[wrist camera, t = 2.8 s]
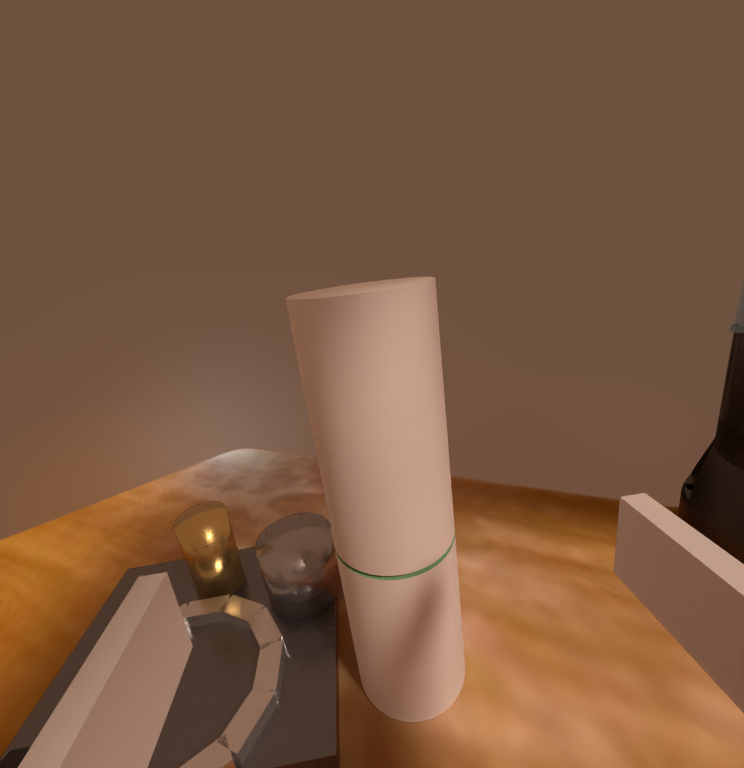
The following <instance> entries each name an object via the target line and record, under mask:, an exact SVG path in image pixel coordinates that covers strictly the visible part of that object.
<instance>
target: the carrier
mask: <svg viewBox="0 0 744 768" xmlns="http://www.w3.org/2000/svg"><path fill="white" fill-rule="evenodd" d="M174 530H175V533H176V536H177V539H178V541H179V544H180V547H181V550H182V553H183V556H184V559H183V560H177V561H172V562H166V563H160V564H154V565H149V566H143V567H137V568H131V569H128V570H127V571H126V573H125V574H124V576H123V577H122V579H121V580H120V582H119V583H118V585H117V586H116V588H115V589H114V591H113V592H112V594H111V595H110V597H109V598H108V600H107V601H106V603H105V604H104V605H103V607H102V608H101V610H100V611H99V613H98V614H97V616H96V617H95V619H94V620H93V622H92V623H91V625H90V626H89V628H88V629H87V631H86V632H85V634H84V635H83V637H82V638H81V640H80V641H79V643H78V644H77V646H76V647H75V649H74V650H73V652H72V653H71V654H70V656H69V657H68V659H67V660H66V662H65V663H64V665H63V666H62V668H61V669H60V671H59V672H58V674H57V675H56V677H55V678H54V680H53V681H52V683H51V684H50V686H49V687H48V689H47V690H46V692H45V693H44V695H43V696H42V698H41V699H40V700H39V702H38V703H37V705H36V706H35V708H34V709H33V711H32V712H31V714H30V715H29V717H28V718H27V720H26V721H25V723H24V724H23V726H22V727H21V729H20V730H19V732H18V733H17V735H16V736H15V738H14V739H13V741H12V742H11V744H10V745H9V747H8V748H7V749H6V751H5V752H4V754H3V755H2V757H1V758H0V761H1V760H2V759H3V758H4V757H5V756H6V755H7V754H8V753H9V752H10V751H11V750H13V749H19V748H24V747H30V746H32V744H33V743H34V741H35V740H36V738H37V736H38V735H39V733H40V732H41V730H42V728H43V727H44V725H45V724H46V722H47V721H48V719H49V717H50V716H51V714H52V713H53V711H54V709H55V708H56V706H57V705H58V703H59V702H60V700H61V698H62V697H63V695H64V694H65V692H66V691H67V689H68V687H69V686H70V684H71V683H72V681H73V679H74V678H75V676H76V675H77V673H78V672H79V670H80V668H81V667H82V665H83V664H84V662H85V661H86V659H87V657H88V656H89V654H90V653H91V651H92V649H93V648H94V646H95V645H96V643H97V642H98V640H99V638H100V637H101V635H102V634H103V632H104V631H105V629H106V627H107V626H108V624H109V623H110V621H111V619H112V618H113V616H114V615H115V613H116V612H117V610H118V608H119V607H120V605H121V604H122V602H123V601H124V599H125V597H126V596H127V594H128V593H129V591H130V589H131V588H132V586H133V585H134V583H135V582H136V580H137V578H138V577H140V576H146V575H152V574H158V573H164V572H167V573H168V576H169V579H170V582H171V585H172V588H173V591H174V594H175V597H176V599H177V602H178V605H179V608H180V611H181V614H182V617H183V620H184V622H185V625H186V628H187V631H188V634H189V637H190V640H191V643H192V646H193V647H192V650H191V652H190V655H189V658H188V660H187V663H186V666H185V668H184V671H183V674H182V676H181V679H180V682H179V684H178V687H177V690H176V692H175V695H174V698H173V701H172V703H171V706H170V709H169V711H168V714H167V717H166V719H165V722H164V725H163V727H162V730H161V733H160V735H159V738H158V741H157V743H156V746H155V749H154V751H153V754H152V757H151V759H150V762H149V765H148V767H147V768H340V756H339V675H338V595H337V593H338V591H339V589H340V585H341V578H340V572H339V567H338V562H337V557H336V552H335V547H334V542H333V537H332V532H331V527H330V523H329V521H328V520H327V519H326V518H324V517H323V516H321V515H318V514H314V513H298V514H293V515H289V516H286V517H284V518H282V519H279V520H278V521H276V522H274V523H273V524H271V525H270V526H268V527H267V528H266V529H265V530H264V531H263V532H262V533H261V535H260V536H259V538H258V540H257V542H256V546H255V547H252V548H246V549H240V550H238V548H237V545H236V541H235V538H234V535H233V531H232V528H231V524H230V521H229V518H228V514H227V511H226V507H225V505H224V504H223V503H221V502H217V501H210V502H204V503H201V504H198V505H195V506H193V507H191V508H189V509H187V510H186V511H184V512H183V513H182V514H180V515H179V516H178V517H177V519H176V520H175V522H174Z"/></svg>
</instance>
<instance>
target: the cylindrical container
mask: <svg viewBox="0 0 744 768" xmlns="http://www.w3.org/2000/svg"><path fill="white" fill-rule="evenodd" d="M286 302H287V307H288V312H289V317H290V322H291V328H292V333H293V338H294V343H295V348H296V353H297V358H298V363H299V369H300V374H301V379H302V383H303V389H304V394H305V399H306V404H307V409H308V414H309V420H310V425H311V429H312V434H313V440H314V445H315V450H316V456H317V461H318V466H319V471H320V476H321V481H322V486H323V491H324V496H325V502H326V507H327V512H328V517H329V521H330V527H331V532H332V537H333V542H334V547H335V552H336V557H337V562H338V567H339V572H340V578H341V583H342V588H343V593H344V598H345V603H346V608H347V613H348V618H349V623H350V628H351V633H352V638H353V643H354V648H355V653H356V658H357V663H358V668H359V673H360V678H361V683H362V686H363V689H364V691H365V694H366V695H367V697H368V698H369V700H370V701H371V703H372V704H373V705H374V706H375V707H376V708H377V709H378V710H379V711H380V712H382V713H384V714H385V715H387V716H389V717H390V718H393V719H396V720H399V721H402V722H414V723H415V722H422V721H427V720H429V719H432V718H435V717H437V716H438V715H440V714H442V713H443V712H445V711H446V710H447V709H448V708H449V707H450V706H451V705H452V704H453V703H454V702H455V700H456V698H457V697H458V695H459V693H460V691H461V689H462V686H463V683H464V677H465V659H464V646H463V633H462V619H461V606H460V593H459V580H458V567H457V553H456V540H455V527H454V514H453V501H452V488H451V475H450V463H449V450H448V437H447V425H446V413H445V400H444V387H443V373H442V361H441V349H440V335H439V322H438V310H437V297H436V284H435V277H412V278H400V279H390V280H381V281H373V282H366V283H358V284H351V285H344V286H337V287H331V288H325V289H320V290H315V291H310V292H305V293H300V294H296V295H292V296H289V297H287V298H286Z"/></svg>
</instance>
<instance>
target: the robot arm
mask: <svg viewBox="0 0 744 768" xmlns="http://www.w3.org/2000/svg"><path fill="white" fill-rule="evenodd" d="M730 331H732V332H734V333H733V338H732V345H731V350H730V356H729V361H728V367H727V373H726V378H725V384H724V389H723V395H722V401H721V407H720V412H719V419H718V425H717V431H716V436H715V438H714V440H713V441H712V443H711V444H710V446H709V447H708V448H707V450H706V451H705V453H704V454H703V456H702V457H701V459H700V460H699V462H698V463H697V465H696V466H695V468H694V470H693V471H692V473H691V475H690V476H688V478H687V479H686V481H685V482H684V484H683V487H682V490H681V497H680V504H679V516H680V518H679V517H678V516H676V515H675V514H673V513H672V512H671V511H669V510H668V509H666V508H665V507H664V506H662V505H661V504H659V503H658V502H657V501H655V500H654V499H653V498H651V497H650V496H648V495H647V494H646V493H640V494H634V495H628V496H623V497H620V503H619V515H618V527H617V538H616V550H615V562H614V573H615V574H616V575H617V576H618V577H619V578H620V579H621V580H622V581H623V582H624V584H625V585H626V586H627V587H628V588H629V589H630V590H631V591H632V592H633V593H634V594H635V596H636V597H637V598H638V599H639V600H640V601H641V602H642V603H643V604H644V605H645V606H646V607H647V609H648V610H649V611H650V612H651V613H652V614H653V615H654V616H655V617H656V618H657V619H658V620H659V622H660V623H661V624H662V625H663V626H664V627H665V628H666V629H667V630H668V631H669V632H670V634H671V635H672V636H673V637H674V638H675V639H676V640H677V641H678V642H679V643H680V644H681V645H682V647H683V648H684V649H685V650H686V651H687V652H688V653H689V654H690V655H691V656H692V657H693V658H694V660H695V661H696V662H697V663H698V664H699V665H700V666H701V667H702V668H703V669H704V670H705V672H706V673H707V674H708V675H709V676H710V677H711V678H712V679H713V680H714V681H715V682H716V683H717V685H718V686H719V687H720V688H721V689H722V690H723V691H724V692H725V693H726V694H727V695H728V696H729V698H730V699H731V700H732V701H733V702H734V703H735V704H736V705H737V706H738V707H739V708H740V710H741V711H742V712H743V713H744V283H743V286H742V289H741V293H740V297H739V302H738V306H737V310H736V315H735V319H733V320H732V322H731V323H730ZM192 647H193V646H192V643H191V640H190V637H189V634H188V631H187V628H186V625H185V622H184V620H183V617H182V614H181V611H180V608H179V605H178V602H177V599H176V597H175V594H174V591H173V588H172V585H171V582H170V579H169V576H168V573H167V572H164V573H158V574H152V575H146V576H140V577H138V578H137V580H136V582H135V583H134V585H133V586H132V588H131V589H130V591H129V593H128V594H127V596H126V597H125V599H124V601H123V602H122V604H121V605H120V607H119V608H118V610H117V612H116V613H115V615H114V616H113V618H112V619H111V621H110V623H109V624H108V626H107V627H106V629H105V631H104V632H103V634H102V635H101V637H100V638H99V640H98V642H97V643H96V645H95V646H94V648H93V649H92V651H91V653H90V654H89V656H88V657H87V659H86V661H85V662H84V664H83V665H82V667H81V668H80V670H79V672H78V673H77V675H76V676H75V678H74V679H73V681H72V683H71V684H70V686H69V687H68V689H67V691H66V692H65V694H64V695H63V697H62V698H61V700H60V702H59V703H58V705H57V706H56V708H55V709H54V711H53V713H52V714H51V716H50V717H49V719H48V721H47V722H46V724H45V725H44V727H43V728H42V730H41V732H40V733H39V735H38V736H37V738H36V740H35V741H34V743H33V744H32V746H30V747H24V748H19V749H13V750H11V751H10V752H9V753H8V754H7V755H6V756H5V757H4V758H3V759H2V760H1V761H0V768H147V767H148V765H149V762H150V759H151V757H152V754H153V751H154V749H155V746H156V743H157V741H158V738H159V735H160V733H161V730H162V727H163V725H164V722H165V719H166V717H167V714H168V711H169V709H170V706H171V703H172V701H173V698H174V695H175V692H176V690H177V687H178V684H179V682H180V679H181V676H182V674H183V671H184V668H185V666H186V663H187V660H188V658H189V655H190V652H191V650H192Z"/></svg>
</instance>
